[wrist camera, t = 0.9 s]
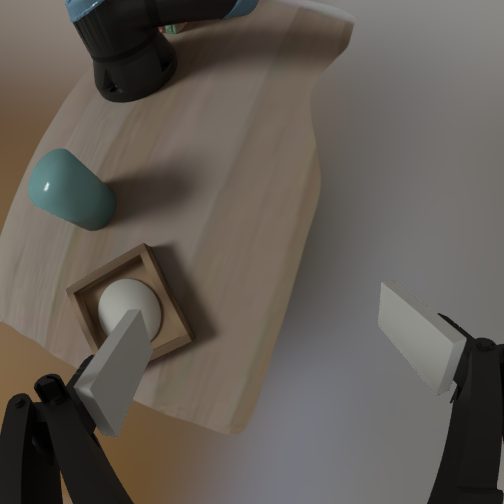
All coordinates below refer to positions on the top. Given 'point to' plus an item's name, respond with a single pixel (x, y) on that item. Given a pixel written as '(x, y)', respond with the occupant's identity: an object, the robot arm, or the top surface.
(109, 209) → the teal cylinder
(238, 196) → the top surface
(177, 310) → the walnut tray
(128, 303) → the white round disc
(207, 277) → the top surface
